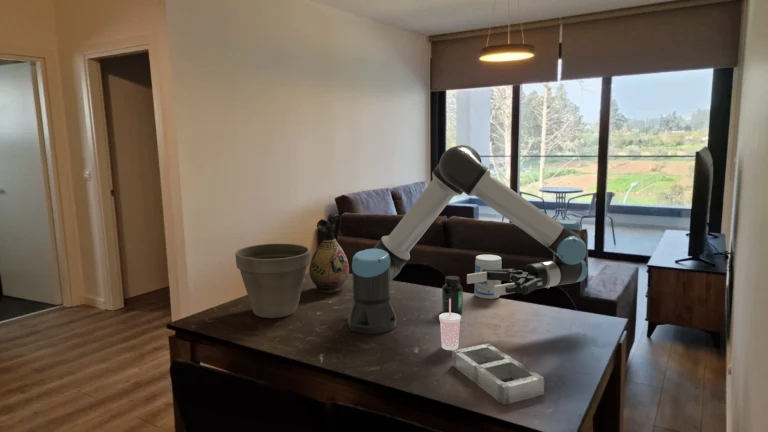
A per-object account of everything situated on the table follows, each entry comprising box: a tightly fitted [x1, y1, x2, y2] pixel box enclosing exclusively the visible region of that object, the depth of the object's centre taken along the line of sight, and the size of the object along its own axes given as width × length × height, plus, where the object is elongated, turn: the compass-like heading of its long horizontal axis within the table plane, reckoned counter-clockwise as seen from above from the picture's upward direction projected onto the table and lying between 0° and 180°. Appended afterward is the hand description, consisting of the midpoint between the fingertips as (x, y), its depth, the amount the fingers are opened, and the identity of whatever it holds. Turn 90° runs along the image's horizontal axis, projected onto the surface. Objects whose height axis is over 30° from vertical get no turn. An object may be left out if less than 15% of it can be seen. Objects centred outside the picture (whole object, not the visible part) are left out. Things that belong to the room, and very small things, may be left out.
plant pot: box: [234, 243, 311, 319], centre depth 174 cm, size 25×25×22 cm
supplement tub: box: [474, 254, 503, 300], centre depth 188 cm, size 10×10×15 cm
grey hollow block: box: [451, 343, 545, 406], centre depth 123 cm, size 22×11×4 cm, turn 23°
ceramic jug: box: [308, 213, 350, 294], centre depth 198 cm, size 17×15×30 cm
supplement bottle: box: [441, 275, 464, 315], centre depth 171 cm, size 7×7×12 cm
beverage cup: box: [438, 299, 462, 351], centre depth 142 cm, size 6×6×14 cm
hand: (480, 284), depth 144 cm, fingers open, 13 cm apart
